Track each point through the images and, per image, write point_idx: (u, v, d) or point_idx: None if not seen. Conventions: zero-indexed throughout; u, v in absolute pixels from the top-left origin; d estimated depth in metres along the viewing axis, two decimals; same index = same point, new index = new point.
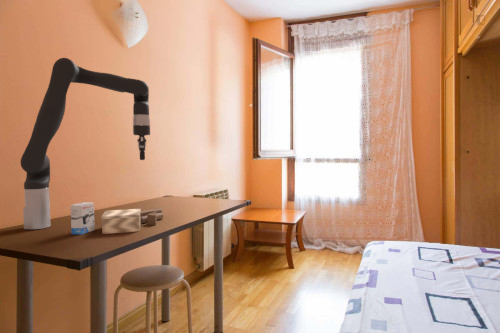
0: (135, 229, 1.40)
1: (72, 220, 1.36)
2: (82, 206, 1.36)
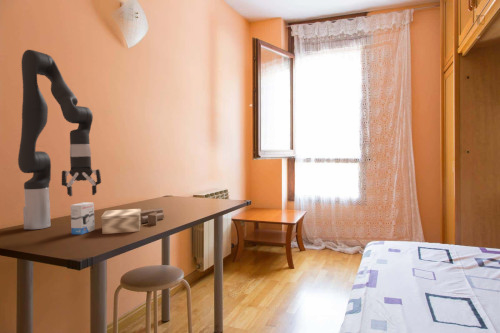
0: (135, 229, 1.40)
1: (72, 220, 1.36)
2: (82, 206, 1.36)
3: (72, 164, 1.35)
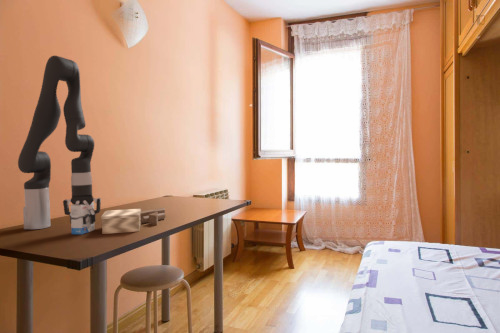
0: (135, 229, 1.40)
1: (72, 220, 1.36)
2: (82, 206, 1.36)
3: (73, 193, 1.36)
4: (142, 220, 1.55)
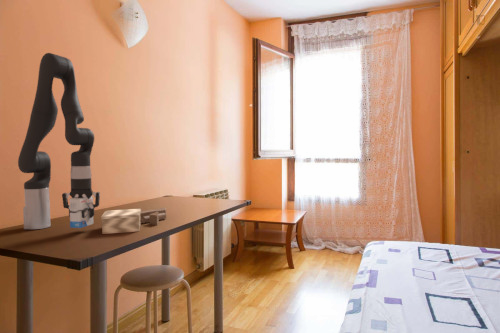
0: (135, 229, 1.40)
1: (71, 213, 1.36)
2: (81, 200, 1.36)
3: (72, 186, 1.36)
4: (143, 220, 1.55)
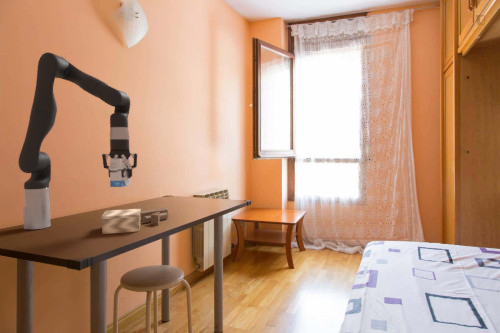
0: (135, 229, 1.40)
1: (111, 173, 1.40)
2: (121, 159, 1.40)
3: (112, 146, 1.40)
4: (144, 220, 1.55)
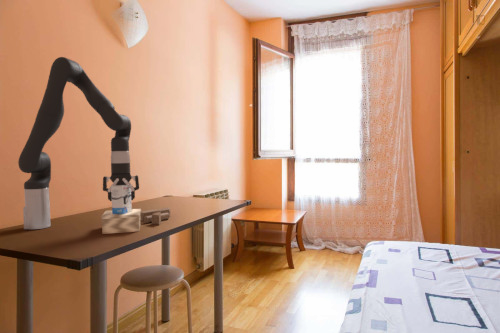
0: (135, 229, 1.40)
1: (113, 200, 1.40)
2: (123, 186, 1.41)
3: (113, 170, 1.40)
4: (145, 219, 1.55)
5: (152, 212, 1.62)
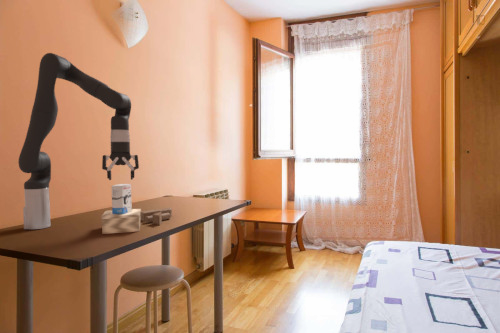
0: (135, 229, 1.40)
1: (113, 200, 1.40)
2: (123, 186, 1.41)
3: (113, 149, 1.40)
4: (146, 220, 1.56)
5: (153, 212, 1.62)
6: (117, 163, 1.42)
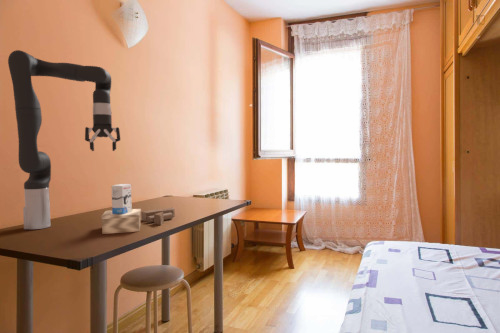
0: (135, 229, 1.40)
1: (113, 200, 1.40)
2: (123, 186, 1.41)
3: (95, 121, 1.48)
4: (148, 219, 1.56)
5: (155, 212, 1.62)
6: (99, 135, 1.50)
